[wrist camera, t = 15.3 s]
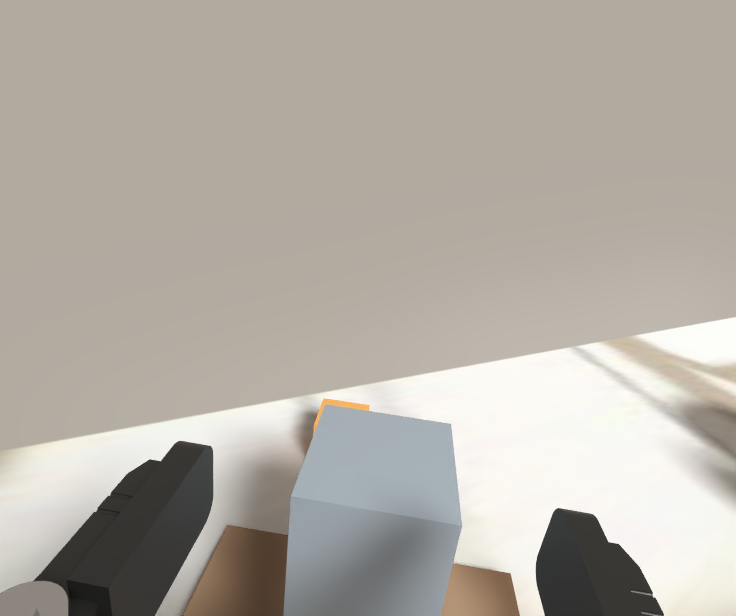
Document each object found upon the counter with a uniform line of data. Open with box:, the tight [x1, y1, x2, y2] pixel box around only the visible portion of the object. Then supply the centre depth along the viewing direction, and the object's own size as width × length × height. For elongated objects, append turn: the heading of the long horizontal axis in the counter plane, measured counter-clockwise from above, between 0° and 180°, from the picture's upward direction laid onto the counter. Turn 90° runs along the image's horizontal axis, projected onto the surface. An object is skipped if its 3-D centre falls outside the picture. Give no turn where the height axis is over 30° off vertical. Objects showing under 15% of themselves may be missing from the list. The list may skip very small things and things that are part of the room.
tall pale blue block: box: [283, 404, 462, 616], centre depth 20 cm, size 6×6×12 cm
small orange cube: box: [313, 399, 369, 435], centre depth 37 cm, size 4×4×4 cm
